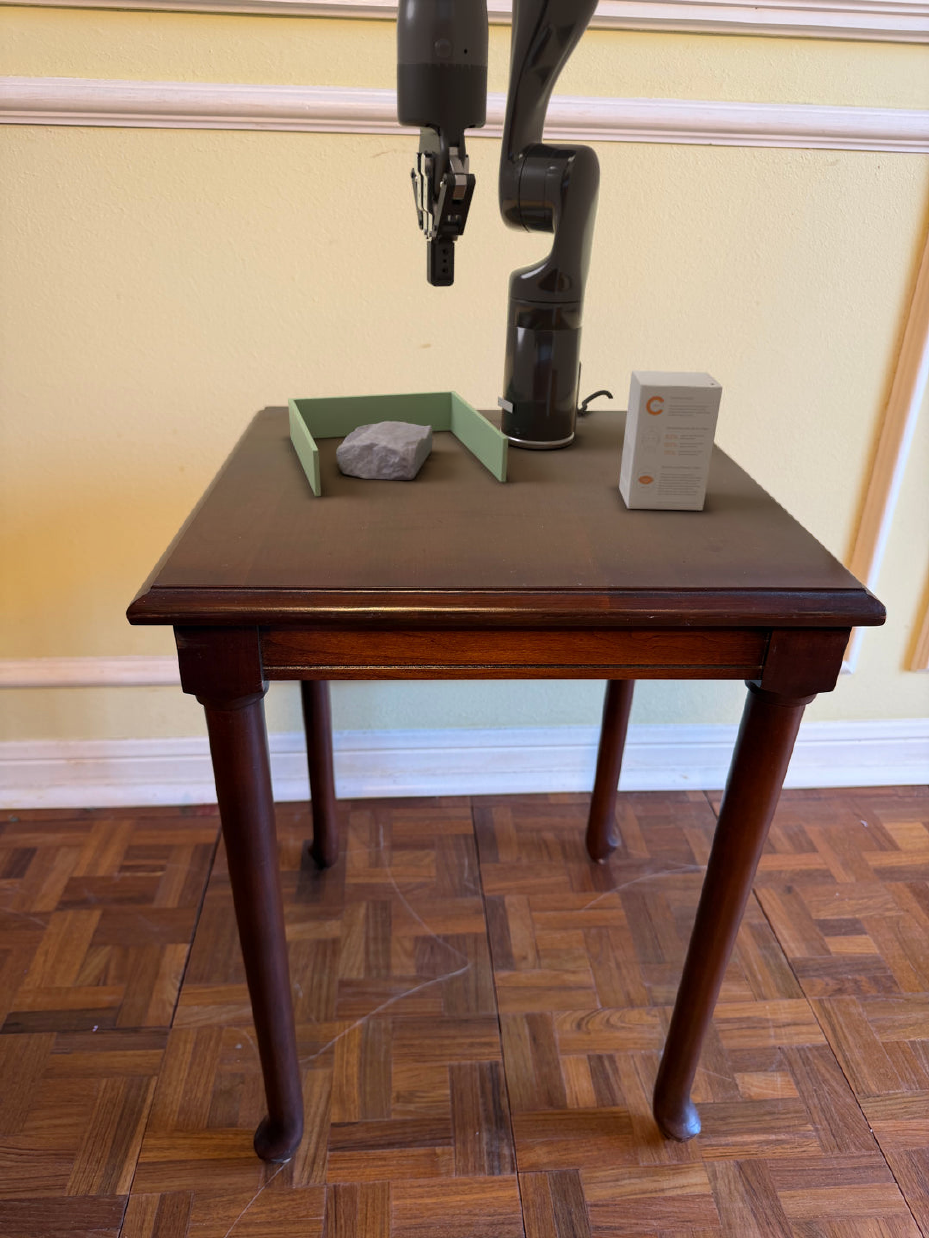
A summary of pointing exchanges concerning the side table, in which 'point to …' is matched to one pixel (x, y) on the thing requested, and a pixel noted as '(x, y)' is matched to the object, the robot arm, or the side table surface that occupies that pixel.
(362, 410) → the green u-shaped fence
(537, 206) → the robot arm
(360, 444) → the stone block
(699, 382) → the small box
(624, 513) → the side table surface
